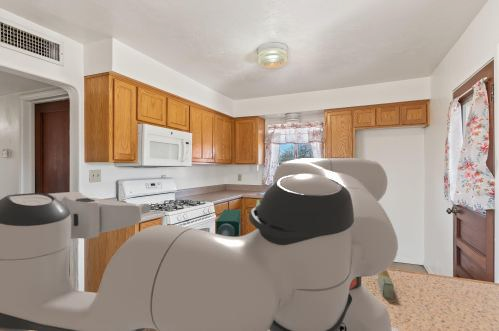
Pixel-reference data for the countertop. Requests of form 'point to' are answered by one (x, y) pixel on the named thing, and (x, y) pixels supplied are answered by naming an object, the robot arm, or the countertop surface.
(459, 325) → the countertop surface
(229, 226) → the power tool
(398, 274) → the countertop surface
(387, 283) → the medication box
